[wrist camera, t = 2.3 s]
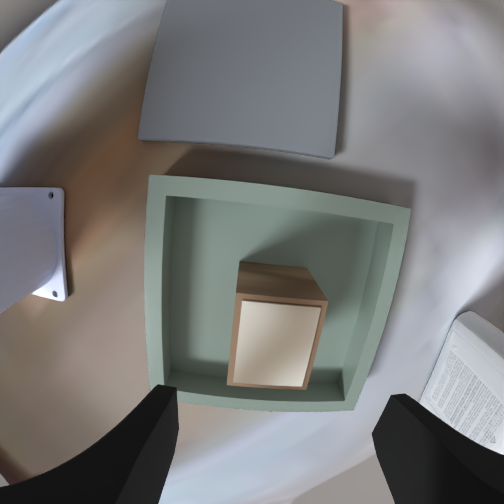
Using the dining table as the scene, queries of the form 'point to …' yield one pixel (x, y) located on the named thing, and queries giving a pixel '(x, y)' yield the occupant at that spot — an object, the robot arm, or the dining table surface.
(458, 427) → the white rounded block
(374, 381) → the dining table surface
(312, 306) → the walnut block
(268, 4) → the slate mat
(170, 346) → the bin
